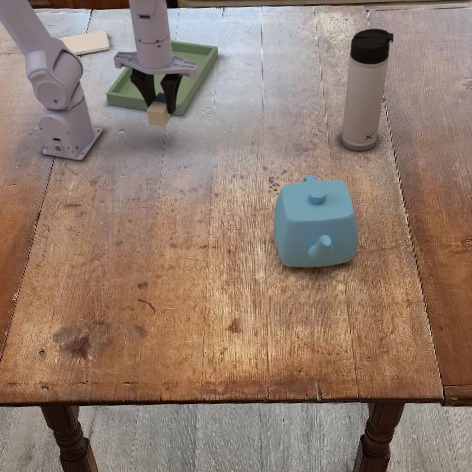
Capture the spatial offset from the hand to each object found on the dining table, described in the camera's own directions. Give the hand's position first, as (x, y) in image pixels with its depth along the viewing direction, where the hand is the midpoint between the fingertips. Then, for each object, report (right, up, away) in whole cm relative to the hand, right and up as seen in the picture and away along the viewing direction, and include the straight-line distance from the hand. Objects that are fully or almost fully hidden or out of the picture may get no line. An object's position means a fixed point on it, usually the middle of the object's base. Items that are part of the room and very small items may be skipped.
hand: (162, 109), depth 119 cm
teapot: (+25, -27, -13) cm, 39 cm away
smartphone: (-22, +23, +28) cm, 43 cm away
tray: (-2, +12, +19) cm, 23 cm away
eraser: (0, -1, +1) cm, 1 cm away
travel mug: (+35, -5, +4) cm, 36 cm away
